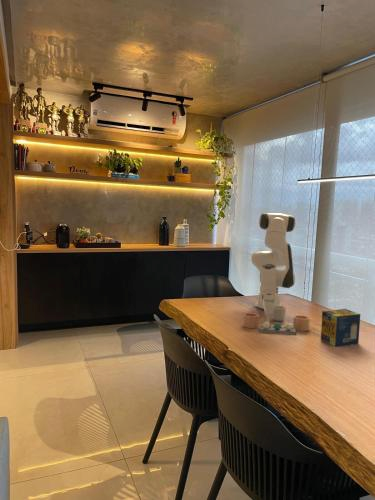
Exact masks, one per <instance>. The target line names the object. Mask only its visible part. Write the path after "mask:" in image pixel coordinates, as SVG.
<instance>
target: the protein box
mask: <svg viewBox="0 0 375 500" xmlns="http://www.w3.org/2000/svg"><path fill="white" fill-rule="evenodd" d="M321 312H322V313H321V325H320V326H321V330H320V341H322V342H323V343H326V344H328V345H330V346H332V347H333V348H334V347H335V348H336V347H343V346H350V345H351V344H353V345H358V344H359V339H360V338H359V337H360V327H361V324H360V323H361V313H358V312H356V311H352V310H350V309H347V308H339V309H330V310H329V309H328V310H322V311H321ZM357 343H358V344H357Z"/></svg>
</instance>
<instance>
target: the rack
mask: <svg viewBox="0 0 375 500" xmlns="http://www.w3.org/2000/svg"><path fill="white" fill-rule="evenodd" d="M258 329H259V333H263V334H278V335H279V334H282V335H283V334H284V335H297V330H295V328H294V327H293V326H292V329H291V330H287V329H286V328H285V326H281V328H280V329H278V330H277V329H275V328H274V325H270V327H269V328H268V329H265V328H263V325H259V327H258Z"/></svg>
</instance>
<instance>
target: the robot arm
mask: <svg viewBox="0 0 375 500" xmlns="http://www.w3.org/2000/svg"><path fill="white" fill-rule="evenodd" d="M296 224H297V223H296V218H295V217H294V216H293V215H291V214H284V213H279V212H278V213H272V212H271V213H269V212H263V213H262V214H260V217H259V218H258V226H259V227H260V229H262V230H265V237H264V244H265V247H267V248H268V249H269V250H261V251H260V250H259V251H255V252H253V253H252V255H251V264H252V265H253V267H256V269H257V270H258V271H259V274H260V275H259V282H260V287H259V293H258V295H257V296H256V299H257V300H256V302H255V304H254V307H256V308H259V309H263V310H264V311H263V312H264V317H265V322H269V323H270V321H271V315H272V314H273V309H274V306H282V305H281V296H280V294H279V288H284V289H285V288H286V289H290V288H292V287H294V285H295V283H296V276H295V272H294V264H293V263H294V262H293V253H292V247H291V244H289V243H288V242H287V233H291V232H293V231H294V229H295V227H296ZM283 267H285V269H277V268H283Z"/></svg>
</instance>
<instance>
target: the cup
mask: <svg viewBox="0 0 375 500" xmlns="http://www.w3.org/2000/svg"><path fill="white" fill-rule="evenodd" d="M286 310H287V308H286V307H285V306H283V305H281V306H274V309H273V314H272V315H270V317H272V319H273V321H276V322H282V321H284V320H285V317H286Z"/></svg>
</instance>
